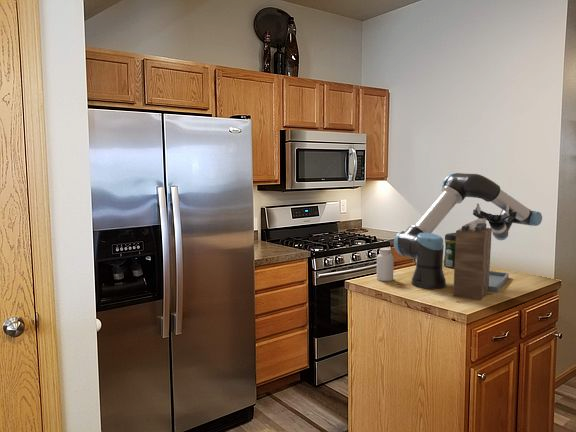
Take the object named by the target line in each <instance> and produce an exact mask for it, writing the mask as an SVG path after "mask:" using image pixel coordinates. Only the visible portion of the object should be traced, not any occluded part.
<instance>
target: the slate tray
mask: <svg viewBox="0 0 576 432" xmlns="http://www.w3.org/2000/svg"><path fill="white" fill-rule="evenodd" d="M508 279H509V273H508V272H501V271H492V270H490V271H489V290H488V292H492V293H499V292H500V290H501V288H502V287H503V285H504V284H505V283H506V281H507V280H508Z"/></svg>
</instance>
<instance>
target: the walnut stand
mask: <svg viewBox="0 0 576 432" xmlns="http://www.w3.org/2000/svg"><path fill="white" fill-rule="evenodd" d="M469 223H470V222H468V223H466V224H464V225H462V226H461V228H459V229H457V230H456V231H455V233H456V246H455V268H453V269H454V273H453V291H452V292H453V293H452V294H453V295H452V296H453V297H456V298H462V299H468V300H474V301H482V300H483V298H484V297H486V295H487V294H488V293H489V291H488V290H489V271H491V270H490V268H491V266H490V265H491V253H492V252H491V251H492V250H491V249H492V248H491V247H492V235H493V233H492V228H491V227H487V223H482V224H480V225H478V226H477V227H475V231H470V230H468V229H469Z"/></svg>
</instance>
